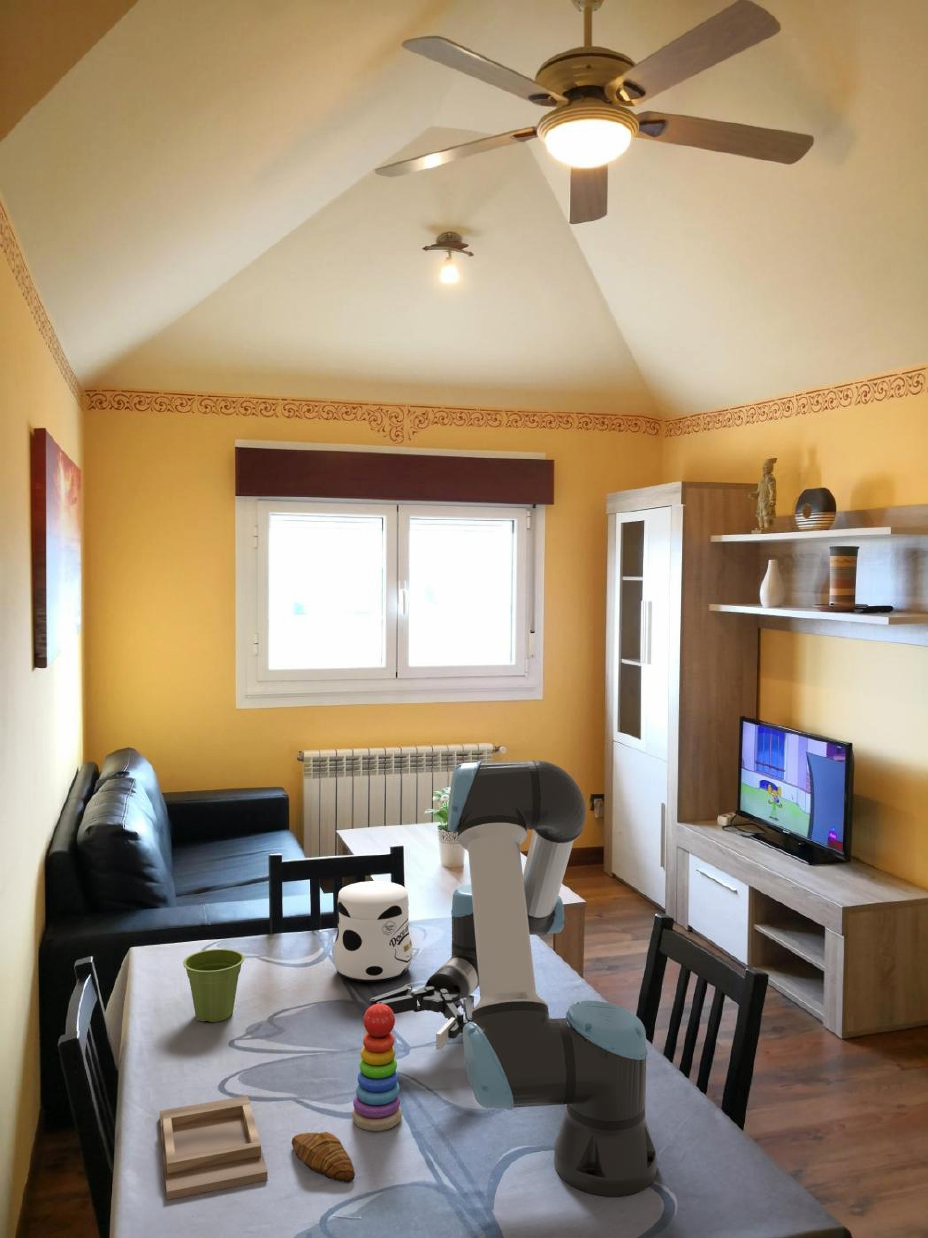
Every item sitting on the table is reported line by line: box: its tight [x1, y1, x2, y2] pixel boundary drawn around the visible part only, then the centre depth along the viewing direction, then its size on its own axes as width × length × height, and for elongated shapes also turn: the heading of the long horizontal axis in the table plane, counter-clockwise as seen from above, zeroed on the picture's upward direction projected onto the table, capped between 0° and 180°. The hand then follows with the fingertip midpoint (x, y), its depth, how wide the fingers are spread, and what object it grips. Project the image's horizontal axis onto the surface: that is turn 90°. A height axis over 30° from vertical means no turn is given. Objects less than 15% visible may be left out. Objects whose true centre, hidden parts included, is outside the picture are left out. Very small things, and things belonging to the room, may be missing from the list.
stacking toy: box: [351, 1004, 403, 1132], centre depth 159 cm, size 8×8×19 cm
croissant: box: [291, 1131, 356, 1183], centre depth 147 cm, size 14×7×5 cm, turn 47°
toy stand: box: [159, 1095, 269, 1201], centre depth 152 cm, size 22×14×3 cm, turn 20°
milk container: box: [333, 880, 414, 983], centre depth 217 cm, size 17×17×18 cm
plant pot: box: [182, 948, 245, 1023], centre depth 196 cm, size 12×12×11 cm
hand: (401, 1034), depth 168 cm, fingers open, 13 cm apart
